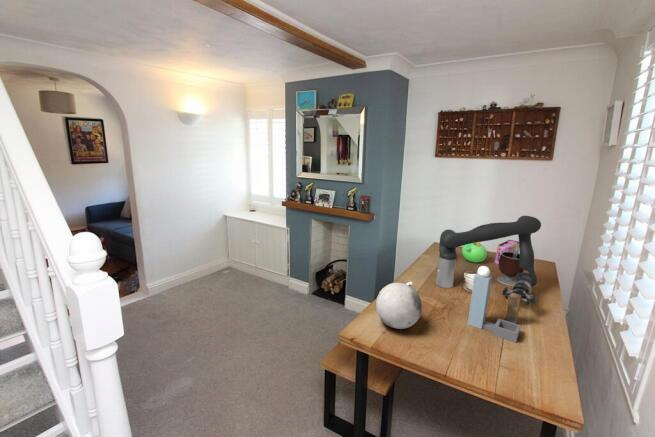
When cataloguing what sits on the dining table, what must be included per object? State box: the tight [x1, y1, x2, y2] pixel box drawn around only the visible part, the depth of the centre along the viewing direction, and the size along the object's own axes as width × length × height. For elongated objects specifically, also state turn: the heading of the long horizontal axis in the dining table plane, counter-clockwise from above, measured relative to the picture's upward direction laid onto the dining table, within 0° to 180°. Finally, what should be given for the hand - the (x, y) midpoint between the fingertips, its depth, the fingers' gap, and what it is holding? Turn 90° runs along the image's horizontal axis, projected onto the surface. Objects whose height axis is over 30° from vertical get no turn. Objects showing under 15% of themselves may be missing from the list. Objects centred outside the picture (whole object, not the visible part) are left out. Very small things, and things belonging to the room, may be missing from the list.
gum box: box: [494, 239, 520, 265], centre depth 229 cm, size 24×8×14 cm, turn 131°
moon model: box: [375, 282, 423, 330], centre depth 143 cm, size 20×20×20 cm
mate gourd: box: [497, 248, 525, 287], centre depth 194 cm, size 16×14×20 cm
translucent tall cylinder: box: [505, 293, 522, 324], centre depth 148 cm, size 4×4×14 cm
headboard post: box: [467, 265, 521, 343], centre depth 140 cm, size 20×9×28 cm, turn 52°
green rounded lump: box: [461, 242, 488, 263], centre depth 227 cm, size 18×17×15 cm
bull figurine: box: [406, 281, 415, 288], centre depth 170 cm, size 4×13×8 cm, turn 137°
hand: (516, 300), depth 154 cm, fingers open, 8 cm apart
